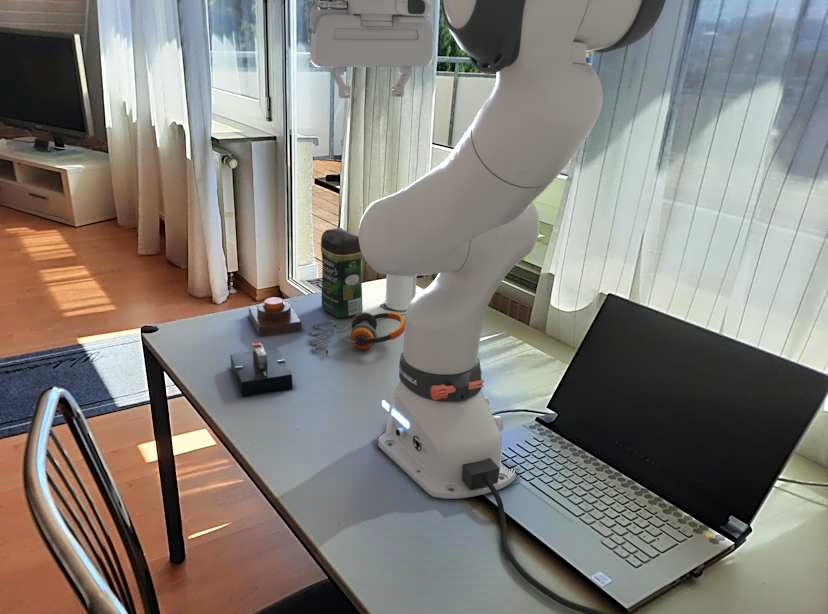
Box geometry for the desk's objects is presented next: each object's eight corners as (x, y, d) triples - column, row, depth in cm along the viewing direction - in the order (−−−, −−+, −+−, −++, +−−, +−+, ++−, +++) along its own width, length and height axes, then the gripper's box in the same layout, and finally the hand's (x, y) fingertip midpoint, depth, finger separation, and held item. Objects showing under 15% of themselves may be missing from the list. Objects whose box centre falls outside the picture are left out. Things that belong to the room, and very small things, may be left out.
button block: (301, 331, 138) (301, 313, 136) (259, 336, 135) (258, 319, 133) (288, 311, 147) (287, 294, 145) (249, 316, 144) (247, 299, 143)
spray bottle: (420, 305, 151) (425, 229, 143) (401, 313, 147) (405, 236, 139) (398, 297, 156) (401, 223, 147) (379, 305, 151) (381, 229, 143)
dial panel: (293, 389, 116) (292, 373, 115) (241, 397, 113) (240, 381, 112) (278, 361, 125) (277, 347, 124) (230, 368, 123) (229, 353, 121)
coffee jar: (316, 307, 150) (314, 228, 141) (345, 300, 153) (346, 223, 145) (337, 322, 142) (337, 240, 134) (367, 314, 146) (369, 234, 138)
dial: (267, 369, 116) (266, 353, 115) (258, 370, 116) (257, 354, 114) (261, 357, 120) (260, 341, 119) (253, 358, 120) (252, 342, 118)
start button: (285, 310, 138) (285, 303, 138) (266, 312, 137) (266, 305, 136) (280, 303, 142) (280, 296, 141) (262, 305, 141) (262, 298, 140)
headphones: (310, 312, 140) (401, 294, 138) (316, 333, 142) (406, 316, 140) (302, 347, 125) (405, 328, 123) (309, 371, 128) (410, 352, 125)
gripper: (315, 0, 95) (316, 100, 102) (440, 3, 102) (434, 97, 108) (303, 1, 101) (305, 96, 107) (423, 4, 107) (418, 94, 113)
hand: (371, 97), depth 108 cm, fingers open, 8 cm apart
